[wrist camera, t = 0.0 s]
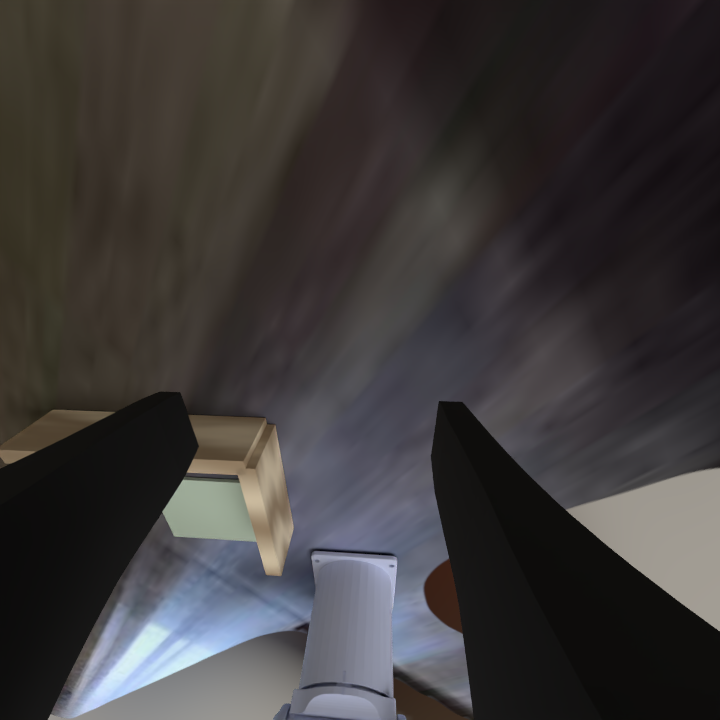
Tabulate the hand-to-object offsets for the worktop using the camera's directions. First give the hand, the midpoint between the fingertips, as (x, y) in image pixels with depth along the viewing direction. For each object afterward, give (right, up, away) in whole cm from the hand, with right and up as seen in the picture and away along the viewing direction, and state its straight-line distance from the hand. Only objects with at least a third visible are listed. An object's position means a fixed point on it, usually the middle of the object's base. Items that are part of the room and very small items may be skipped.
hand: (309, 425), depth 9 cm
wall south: (-5, -8, +17) cm, 19 cm away
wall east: (-13, -3, +14) cm, 19 cm away
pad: (-12, -11, +19) cm, 25 cm away
